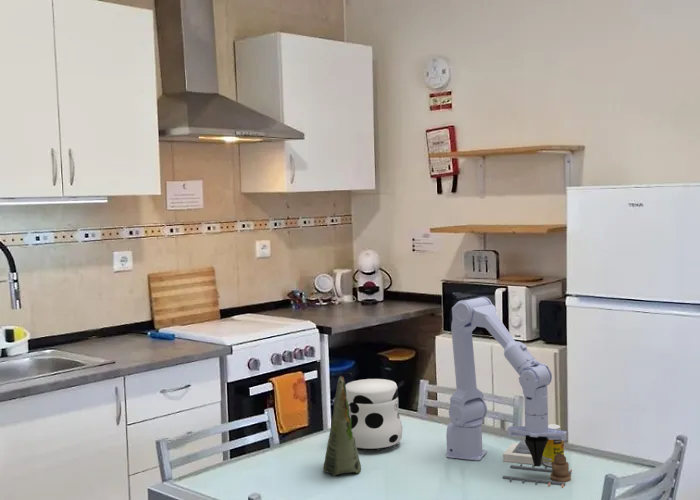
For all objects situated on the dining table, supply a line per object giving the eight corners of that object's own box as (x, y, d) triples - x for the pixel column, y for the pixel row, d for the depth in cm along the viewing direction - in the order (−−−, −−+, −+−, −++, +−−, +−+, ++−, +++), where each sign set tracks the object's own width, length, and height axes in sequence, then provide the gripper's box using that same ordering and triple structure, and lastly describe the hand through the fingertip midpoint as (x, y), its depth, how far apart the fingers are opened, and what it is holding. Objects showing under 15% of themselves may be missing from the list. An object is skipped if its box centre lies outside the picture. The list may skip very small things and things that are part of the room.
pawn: (548, 481, 202) (547, 456, 202) (552, 474, 207) (551, 449, 206) (568, 483, 200) (568, 458, 200) (572, 476, 205) (571, 451, 204)
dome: (514, 458, 219) (513, 442, 219) (518, 452, 224) (518, 436, 223) (533, 460, 217) (533, 444, 216) (537, 454, 221) (537, 438, 221)
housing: (503, 461, 218) (503, 454, 218) (512, 449, 227) (512, 442, 227) (540, 465, 214) (540, 457, 213) (548, 453, 223) (548, 446, 222)
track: (500, 480, 204) (500, 478, 204) (512, 464, 215) (512, 462, 215) (563, 488, 197) (563, 486, 197) (572, 471, 208) (572, 469, 208)
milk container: (413, 441, 239) (411, 380, 237) (384, 458, 224) (381, 395, 223) (363, 433, 248) (360, 375, 247) (332, 450, 234) (329, 389, 232)
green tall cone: (343, 460, 224) (339, 371, 222) (374, 470, 216) (370, 377, 214) (313, 472, 216) (308, 379, 214) (344, 482, 208) (340, 386, 206)
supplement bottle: (554, 469, 210) (553, 430, 209) (538, 463, 215) (537, 426, 214) (568, 464, 213) (567, 426, 212) (552, 459, 218) (551, 421, 217)
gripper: (504, 414, 204) (505, 467, 205) (562, 419, 198) (563, 473, 199) (510, 407, 210) (512, 458, 212) (567, 411, 204) (568, 464, 205)
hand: (537, 465), depth 206 cm, fingers closed
